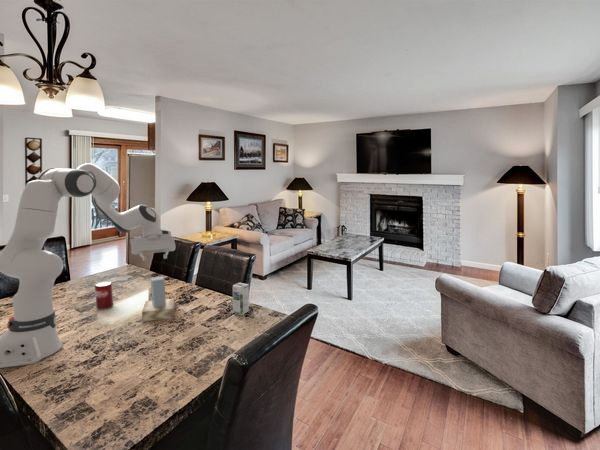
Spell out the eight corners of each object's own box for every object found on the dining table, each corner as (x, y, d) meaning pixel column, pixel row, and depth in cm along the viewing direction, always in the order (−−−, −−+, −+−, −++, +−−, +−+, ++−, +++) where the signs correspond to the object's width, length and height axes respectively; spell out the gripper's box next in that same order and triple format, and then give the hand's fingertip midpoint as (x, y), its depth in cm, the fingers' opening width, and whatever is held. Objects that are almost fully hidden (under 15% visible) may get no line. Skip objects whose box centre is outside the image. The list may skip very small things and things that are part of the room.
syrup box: (232, 314, 156) (231, 285, 153) (240, 309, 161) (239, 281, 159) (241, 316, 153) (241, 287, 151) (249, 312, 158) (249, 283, 156)
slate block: (154, 307, 150) (152, 280, 148) (152, 304, 154) (150, 278, 152) (165, 305, 153) (164, 279, 151) (163, 302, 157) (161, 276, 155)
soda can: (105, 310, 157) (103, 286, 155) (92, 309, 158) (90, 285, 156) (116, 304, 164) (115, 282, 162) (104, 303, 165) (102, 281, 163)
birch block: (142, 322, 146) (141, 311, 146) (146, 310, 158) (145, 301, 158) (173, 318, 150) (172, 308, 150) (174, 307, 163) (174, 298, 162)
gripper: (129, 233, 158) (131, 257, 151) (173, 231, 168) (177, 253, 161) (129, 241, 162) (131, 264, 155) (172, 238, 172) (176, 260, 165)
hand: (155, 259), depth 158 cm, fingers open, 8 cm apart
